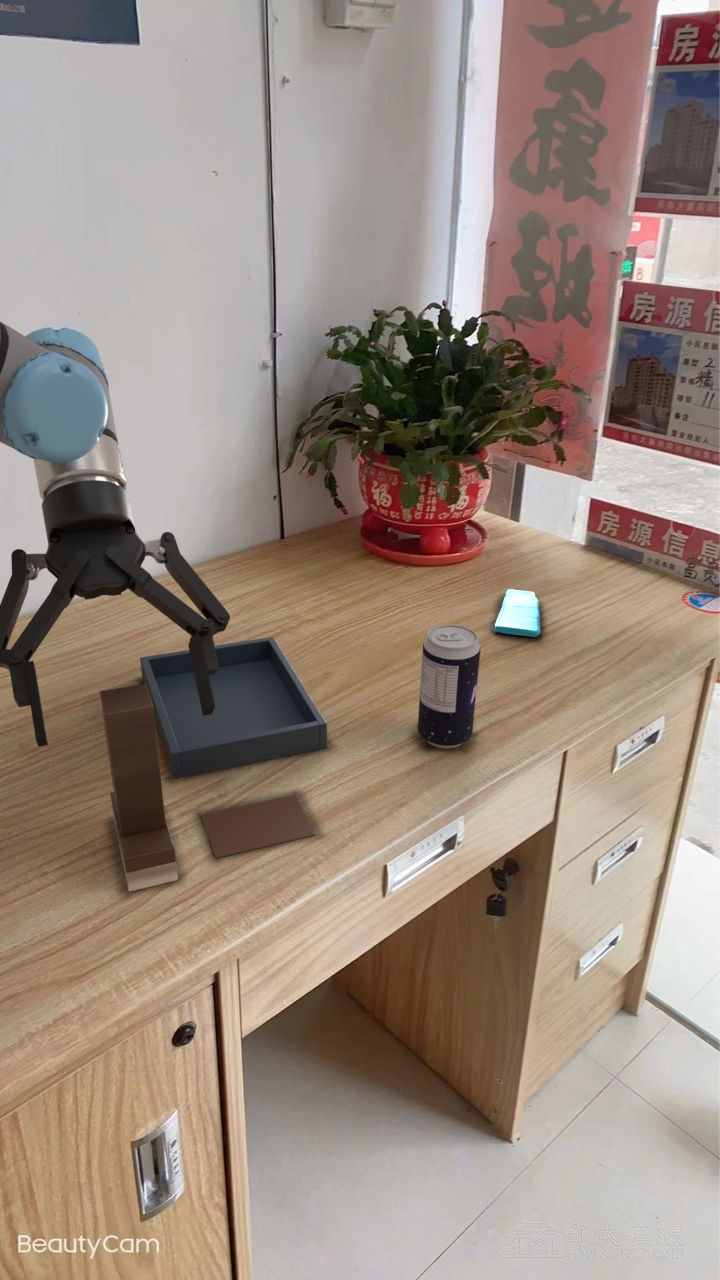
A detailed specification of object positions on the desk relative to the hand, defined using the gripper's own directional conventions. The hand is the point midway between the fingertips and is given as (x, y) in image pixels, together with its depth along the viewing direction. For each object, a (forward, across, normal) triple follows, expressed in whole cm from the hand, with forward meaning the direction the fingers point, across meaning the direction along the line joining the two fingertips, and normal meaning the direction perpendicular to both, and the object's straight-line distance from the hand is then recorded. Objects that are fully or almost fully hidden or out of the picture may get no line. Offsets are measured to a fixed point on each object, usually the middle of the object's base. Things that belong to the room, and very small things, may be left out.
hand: (128, 727), depth 73 cm
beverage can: (+5, -32, -11) cm, 34 cm away
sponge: (-10, -54, -26) cm, 61 cm away
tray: (-4, -12, -19) cm, 23 cm away
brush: (+10, 0, -6) cm, 11 cm away
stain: (+10, -10, -6) cm, 15 cm away
